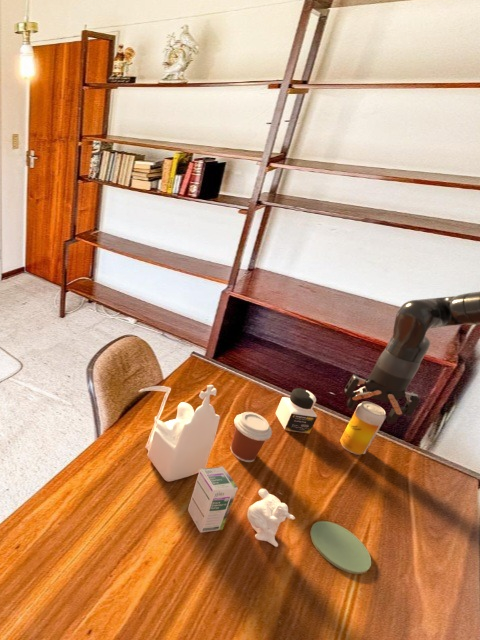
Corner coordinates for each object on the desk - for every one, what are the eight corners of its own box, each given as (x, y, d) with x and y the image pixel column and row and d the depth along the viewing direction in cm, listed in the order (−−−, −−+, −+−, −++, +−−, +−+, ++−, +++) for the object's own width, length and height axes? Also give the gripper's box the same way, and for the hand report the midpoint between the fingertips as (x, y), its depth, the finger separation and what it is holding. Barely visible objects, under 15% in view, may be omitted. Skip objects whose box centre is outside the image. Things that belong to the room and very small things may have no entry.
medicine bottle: (284, 430, 119) (297, 400, 114) (274, 413, 126) (286, 384, 121) (309, 434, 118) (324, 403, 113) (298, 416, 125) (312, 387, 120)
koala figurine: (288, 550, 87) (307, 515, 82) (261, 554, 86) (278, 519, 81) (263, 514, 95) (278, 480, 90) (237, 516, 94) (251, 482, 89)
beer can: (341, 435, 118) (361, 397, 112) (366, 448, 114) (388, 408, 108) (337, 447, 114) (357, 407, 108) (363, 459, 110) (386, 420, 104)
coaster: (365, 539, 90) (367, 537, 90) (373, 585, 82) (375, 583, 81) (309, 514, 95) (310, 512, 95) (310, 555, 87) (312, 552, 86)
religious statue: (175, 434, 116) (198, 351, 103) (208, 472, 105) (238, 384, 92) (124, 448, 111) (142, 362, 98) (153, 490, 100) (177, 398, 87)
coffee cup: (267, 456, 110) (280, 424, 105) (250, 471, 106) (263, 439, 100) (236, 435, 117) (247, 404, 112) (218, 448, 112) (229, 416, 107)
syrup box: (199, 533, 90) (215, 491, 84) (186, 509, 95) (200, 467, 89) (222, 530, 91) (239, 488, 85) (208, 506, 96) (222, 464, 90)
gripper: (363, 365, 102) (339, 412, 109) (436, 386, 96) (405, 435, 103) (359, 351, 108) (336, 397, 115) (427, 370, 102) (399, 417, 109)
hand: (369, 415), depth 109 cm, fingers open, 8 cm apart
